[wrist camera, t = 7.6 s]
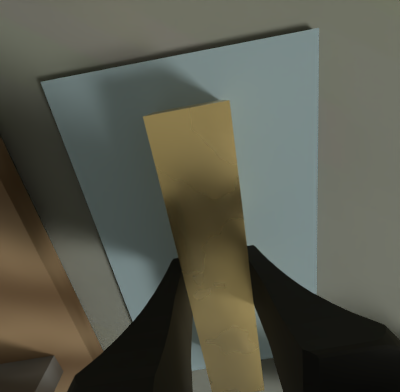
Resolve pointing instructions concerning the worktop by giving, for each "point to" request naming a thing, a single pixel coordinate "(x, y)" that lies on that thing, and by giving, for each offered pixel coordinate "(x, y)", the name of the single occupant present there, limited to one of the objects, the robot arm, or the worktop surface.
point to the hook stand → (36, 300)
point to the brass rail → (210, 236)
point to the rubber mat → (244, 144)
